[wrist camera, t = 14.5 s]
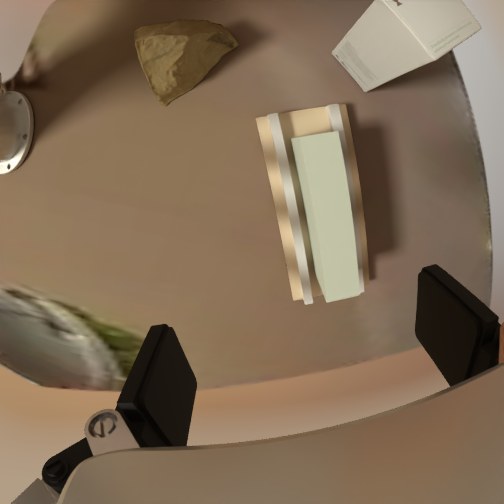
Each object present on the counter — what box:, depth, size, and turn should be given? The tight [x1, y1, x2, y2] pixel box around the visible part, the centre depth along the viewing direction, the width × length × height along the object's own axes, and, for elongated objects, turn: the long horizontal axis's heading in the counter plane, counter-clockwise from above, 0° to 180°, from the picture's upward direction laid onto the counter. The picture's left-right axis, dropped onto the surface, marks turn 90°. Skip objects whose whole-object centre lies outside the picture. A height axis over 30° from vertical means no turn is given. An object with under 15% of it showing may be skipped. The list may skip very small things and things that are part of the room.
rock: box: [134, 20, 239, 106], centre depth 26 cm, size 11×9×10 cm
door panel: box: [290, 131, 360, 302], centre depth 30 cm, size 16×4×7 cm, turn 13°
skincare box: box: [332, 0, 481, 92], centre depth 20 cm, size 8×7×16 cm
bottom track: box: [256, 104, 370, 305], centre depth 33 cm, size 22×10×2 cm, turn 12°
